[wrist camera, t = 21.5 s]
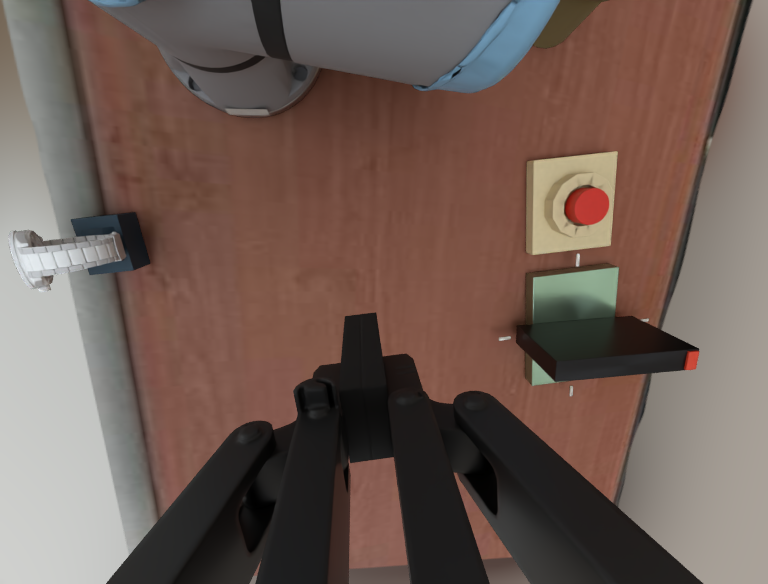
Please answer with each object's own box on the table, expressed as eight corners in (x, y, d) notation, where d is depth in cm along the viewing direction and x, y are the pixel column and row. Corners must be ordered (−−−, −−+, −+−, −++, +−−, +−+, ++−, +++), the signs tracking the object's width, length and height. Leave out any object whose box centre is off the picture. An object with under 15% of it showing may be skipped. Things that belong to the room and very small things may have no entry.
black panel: (515, 342, 44) (556, 383, 35) (516, 325, 43) (558, 362, 34) (629, 332, 44) (697, 370, 35) (631, 315, 44) (701, 349, 35)
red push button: (565, 189, 38) (575, 190, 36) (599, 185, 38) (611, 186, 36) (564, 224, 39) (573, 227, 37) (597, 221, 39) (608, 222, 37)
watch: (73, 218, 38) (-35, 232, 28) (152, 210, 38) (75, 221, 28) (91, 270, 40) (-5, 303, 29) (167, 262, 40) (99, 291, 30)
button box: (526, 161, 40) (542, 159, 36) (607, 152, 40) (630, 149, 37) (525, 252, 43) (540, 258, 39) (601, 243, 43) (621, 248, 40)
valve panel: (491, 259, 43) (498, 263, 40) (643, 241, 43) (657, 244, 41) (493, 396, 48) (500, 405, 46) (629, 378, 49) (641, 386, 46)
